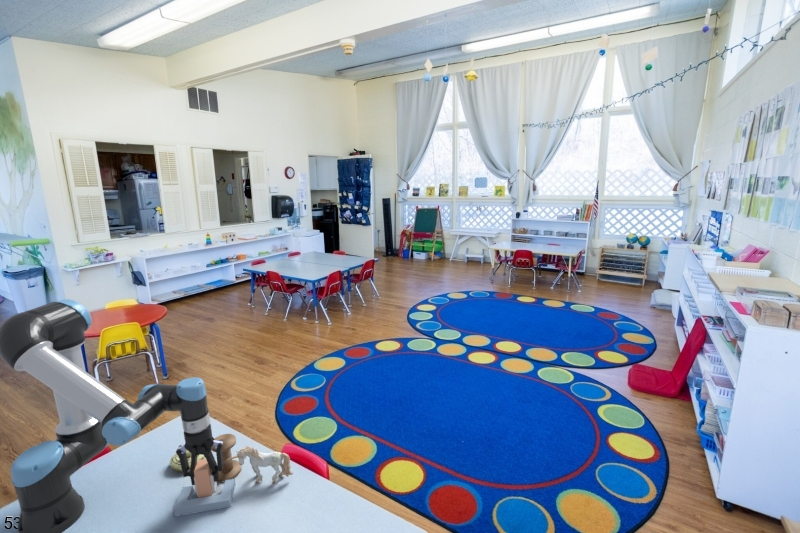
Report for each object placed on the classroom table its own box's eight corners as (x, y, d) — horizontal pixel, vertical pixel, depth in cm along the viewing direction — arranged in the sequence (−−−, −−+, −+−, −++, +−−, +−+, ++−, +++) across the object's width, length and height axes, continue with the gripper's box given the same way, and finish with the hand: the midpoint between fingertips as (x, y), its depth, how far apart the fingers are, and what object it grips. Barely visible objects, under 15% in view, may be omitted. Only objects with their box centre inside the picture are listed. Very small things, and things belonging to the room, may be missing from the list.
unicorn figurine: (234, 479, 134) (229, 445, 131) (292, 465, 140) (289, 433, 137) (232, 494, 127) (227, 459, 124) (293, 480, 133) (290, 446, 130)
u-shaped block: (174, 516, 120) (173, 509, 119) (183, 493, 128) (182, 487, 128) (230, 506, 123) (229, 500, 122) (235, 485, 131) (234, 478, 131)
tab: (198, 498, 124) (193, 471, 122) (202, 486, 129) (198, 460, 126) (211, 495, 125) (207, 469, 122) (215, 484, 130) (211, 458, 127)
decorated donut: (185, 478, 135) (183, 468, 134) (164, 469, 140) (163, 459, 139) (210, 458, 144) (209, 449, 144) (190, 450, 149) (189, 441, 148)
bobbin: (210, 483, 132) (205, 452, 129) (216, 465, 141) (212, 434, 138) (238, 479, 134) (234, 447, 131) (243, 461, 142) (239, 431, 140)
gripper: (162, 438, 116) (174, 504, 121) (223, 430, 119) (232, 494, 125) (171, 423, 123) (182, 486, 129) (229, 416, 127) (237, 477, 132)
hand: (206, 490), depth 127 cm, fingers closed on tab, 4 cm apart
